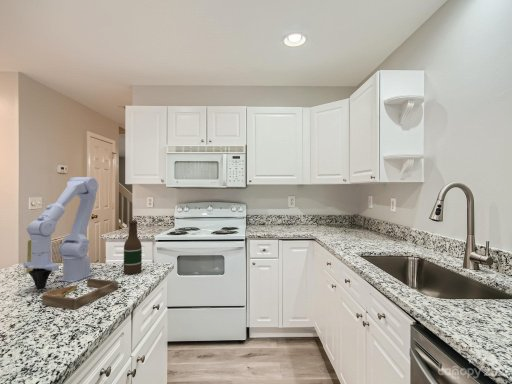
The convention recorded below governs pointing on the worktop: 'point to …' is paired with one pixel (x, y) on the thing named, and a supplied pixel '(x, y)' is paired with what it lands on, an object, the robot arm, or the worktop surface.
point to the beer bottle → (132, 251)
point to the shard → (61, 291)
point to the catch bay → (74, 304)
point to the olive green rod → (29, 255)
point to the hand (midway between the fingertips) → (40, 288)
